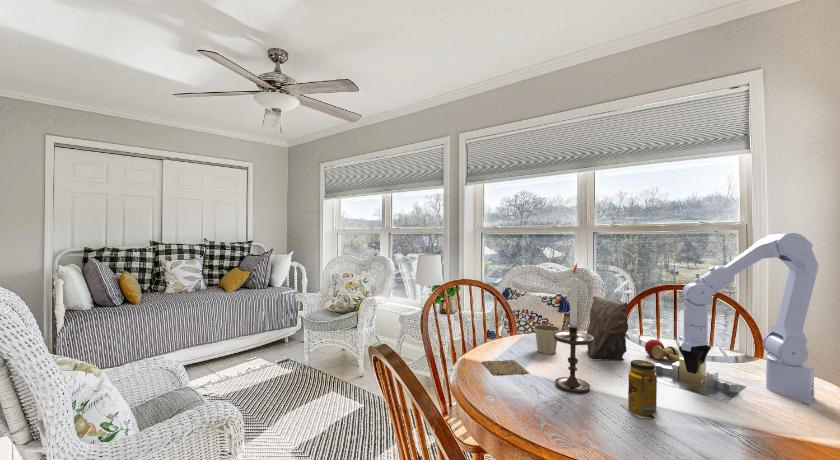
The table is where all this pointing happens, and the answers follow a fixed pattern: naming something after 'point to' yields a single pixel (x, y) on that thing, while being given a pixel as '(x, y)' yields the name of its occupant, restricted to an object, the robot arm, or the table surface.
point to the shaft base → (708, 388)
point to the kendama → (661, 351)
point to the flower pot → (546, 338)
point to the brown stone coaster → (504, 367)
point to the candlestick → (573, 344)
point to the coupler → (697, 377)
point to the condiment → (642, 389)
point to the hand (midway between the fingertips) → (694, 370)
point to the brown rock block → (608, 329)
